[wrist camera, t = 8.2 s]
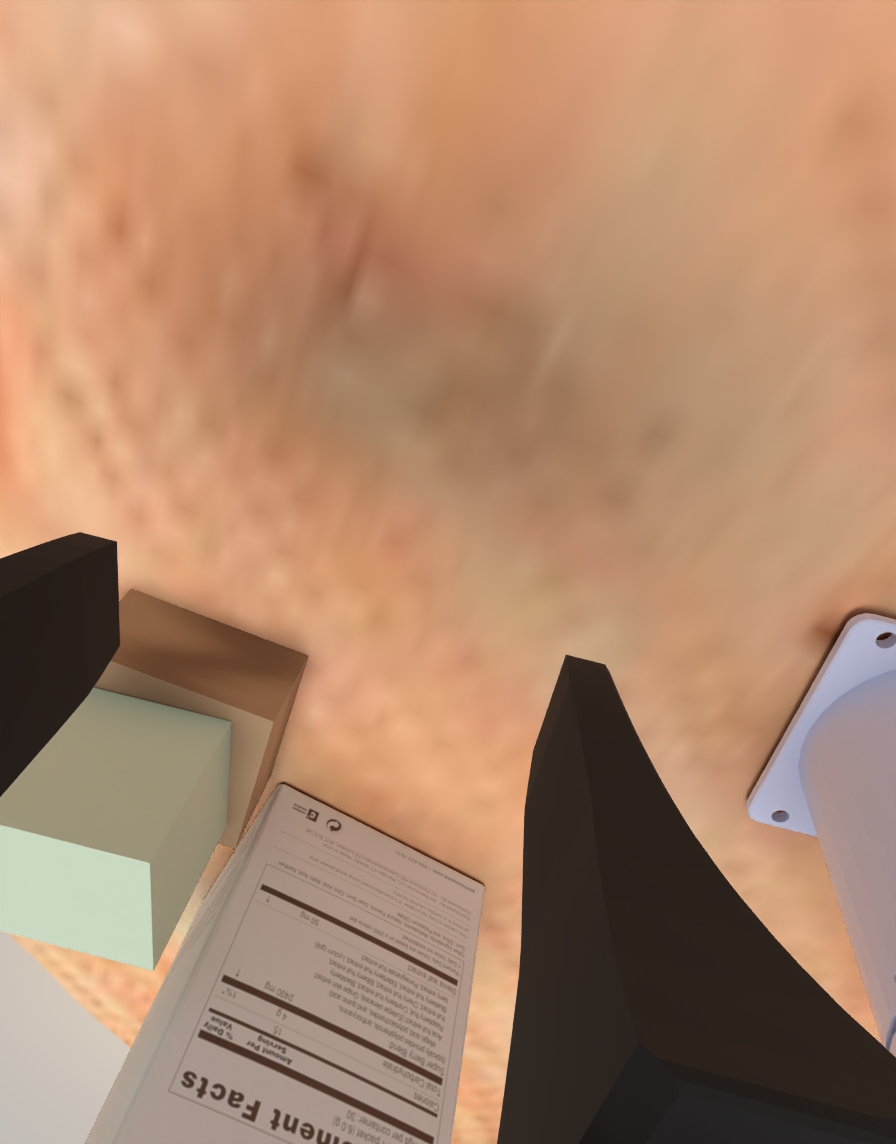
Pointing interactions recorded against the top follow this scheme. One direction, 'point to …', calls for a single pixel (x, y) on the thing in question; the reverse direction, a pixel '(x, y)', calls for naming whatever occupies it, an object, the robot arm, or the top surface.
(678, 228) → the top surface
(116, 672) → the walnut block
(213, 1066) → the supplement box
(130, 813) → the sage block
